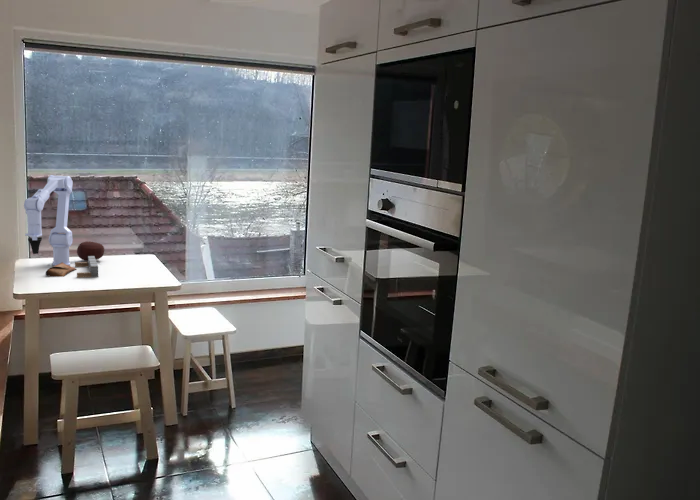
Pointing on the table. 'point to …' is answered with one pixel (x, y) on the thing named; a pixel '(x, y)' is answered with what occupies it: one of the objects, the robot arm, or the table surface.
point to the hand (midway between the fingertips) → (35, 253)
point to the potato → (90, 250)
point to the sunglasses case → (60, 270)
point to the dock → (92, 268)
